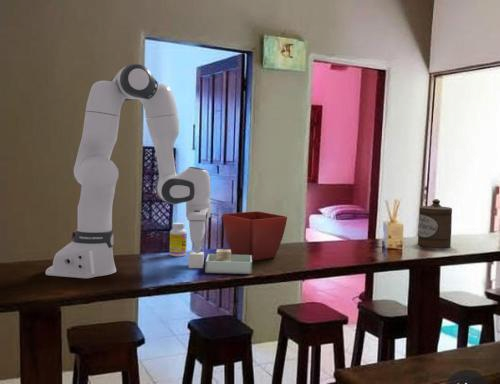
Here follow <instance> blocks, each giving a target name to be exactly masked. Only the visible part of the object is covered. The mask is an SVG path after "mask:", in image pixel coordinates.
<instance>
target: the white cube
mask: <svg viewBox="0 0 500 384" xmlns="http://www.w3.org/2000/svg"><path fill="white" fill-rule="evenodd" d="M204 256H205V251H200V253H195V251H189V253H188V269H203V268H204V266H203V265H204V264H205V263H204V262H205V261H204V259H205V257H204Z"/></svg>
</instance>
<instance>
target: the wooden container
mask: <svg viewBox="0 0 500 384" xmlns="http://www.w3.org/2000/svg"><path fill="white" fill-rule="evenodd" d="M440 203H441V200H439V199H436V198H435V199H433V200H432V204H430V205H421V206H419V215H418V216H419V219H418V228H417V229H418V230H417V232H418V233H417V234H418V235H417V236H418V237H417V244H418V245H419V246H423V247H426V248H427V247H428V248H435V249H436V248H439V249H445V248H447V249H448V248H450V247H451V244H452V226H453V225H452V221H453V220H452V219H453V216H452V214H453V208H452V207H449V206H442V205H441V204H440Z"/></svg>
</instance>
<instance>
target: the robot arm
mask: <svg viewBox="0 0 500 384" xmlns="http://www.w3.org/2000/svg"><path fill="white" fill-rule="evenodd" d="M132 100H138V101H139V102H140V103H141V104H142V106H143V109H144V114H145V119H146V125H147V130H148V132H149V136H150V138H151V142H152V145H153V147H154V151H155V157H156V165H157V172H158V176H157V179H156V184H155V192H156V195H157V196H158V198H159V199H160V200H161V201H163V202H164V203H165V202H166V203H168V204H170V205H178V204H182V203H185V217H186V220H187V221H188V224H189V225H188V226H189V238H190V241H191V243H193V246H194V252H195V253H200V252H201V249H202V247H203V240H204V239H203V238H204V235H205V234H206V222H208V219H209V218H211V215H212V213H211V209H212V205H211V199H210V198H211V197H210V195H211V191H212V189H211V176H210V173H209V171H208V170H207V169H205V168H202V167H201V168H200V167H196V166H195V167H194V166H189V167H187V169H185V170H183V171H182V172H180V173H178V174H177V172H176V162H175V157H174V146H175V142H176V141H177V138H178V137H179V133H180V129H179V128H180V124H179V123H180V120H179V119H180V118H179V115H178V114H179V113H178V107H177V103H176V101H175V96H174V95H173V91H172V89H171V88H170V86H168V85H165V84H162V83H159V82H158V81H157V80H156V78H155V76H153V74H152V72H151V71H150V69H149V68H148V67H146V66H144V65H143V64H141V63H140V64H139V63H132V64H129V65H126V66H124V67H122V68H121V69H119V70H118V72H117V73H116V74H115V75H114V76H113V78H111V80H110V81H109V80H98V81H96V82H94V83H93V84H92V86H91V88H90V90H89V94H88V98H87V101H86V106H85V114H84V120H83V129H82V136H81V140H80V143H79V147H78V150H77V151H78V152H77V155H76V160H75V164H74V166H73V176H74V179H75V180H76V182H77V183H78V184H80V185H81V186H80V187H81V188H80V196H79V202H78V205H77V229H75V230H73V232H71V233H70V235H69V236H70V238H71V242H69V243H68V244H66V245H65V246H64V247H62V248H61V249H60V250H58V251H57V252H56V253H55V254H54V258H53V261H52V265H51V266H49V267H48V268H46V270H45V275H46V276H52V277H53V276H54V277H62V278H63V277H65V278H75V279H76V278H77V279H91V278H95V277H103V276H108V275H113V274H114V273H116V272H117V268H116V264H115V261H114V260H115V259H114V253H113V246H114V229H112V228H113V203H114V198H115V192H116V187H117V186H116V185H117V182H118V179H119V169H118V166H117V165H116V164H115V162H114V161H113V160H111V157H112V152H113V150H114V148H115V145H116V143H117V141H118V140H117V139H118V134H119V127H120V126H119V125H120V119H121V118H120V117H121V108H122V106H123V103H124V102H125V101H132Z"/></svg>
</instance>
